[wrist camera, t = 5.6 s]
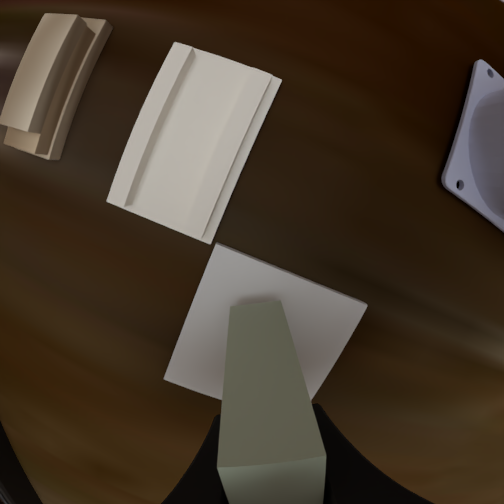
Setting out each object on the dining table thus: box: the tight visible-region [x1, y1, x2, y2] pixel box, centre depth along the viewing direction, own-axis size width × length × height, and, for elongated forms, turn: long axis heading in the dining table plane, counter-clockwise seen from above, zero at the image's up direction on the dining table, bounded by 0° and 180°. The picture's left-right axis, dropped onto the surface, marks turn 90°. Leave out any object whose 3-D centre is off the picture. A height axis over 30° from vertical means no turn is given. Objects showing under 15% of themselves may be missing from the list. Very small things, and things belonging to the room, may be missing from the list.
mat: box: [164, 242, 368, 400], centre depth 15 cm, size 8×8×1 cm
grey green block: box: [217, 300, 326, 504], centre depth 9 cm, size 2×6×8 cm, turn 6°
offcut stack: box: [0, 14, 113, 160], centre depth 11 cm, size 2×7×3 cm, turn 159°
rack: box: [107, 42, 282, 244], centre depth 12 cm, size 5×8×2 cm, turn 157°
